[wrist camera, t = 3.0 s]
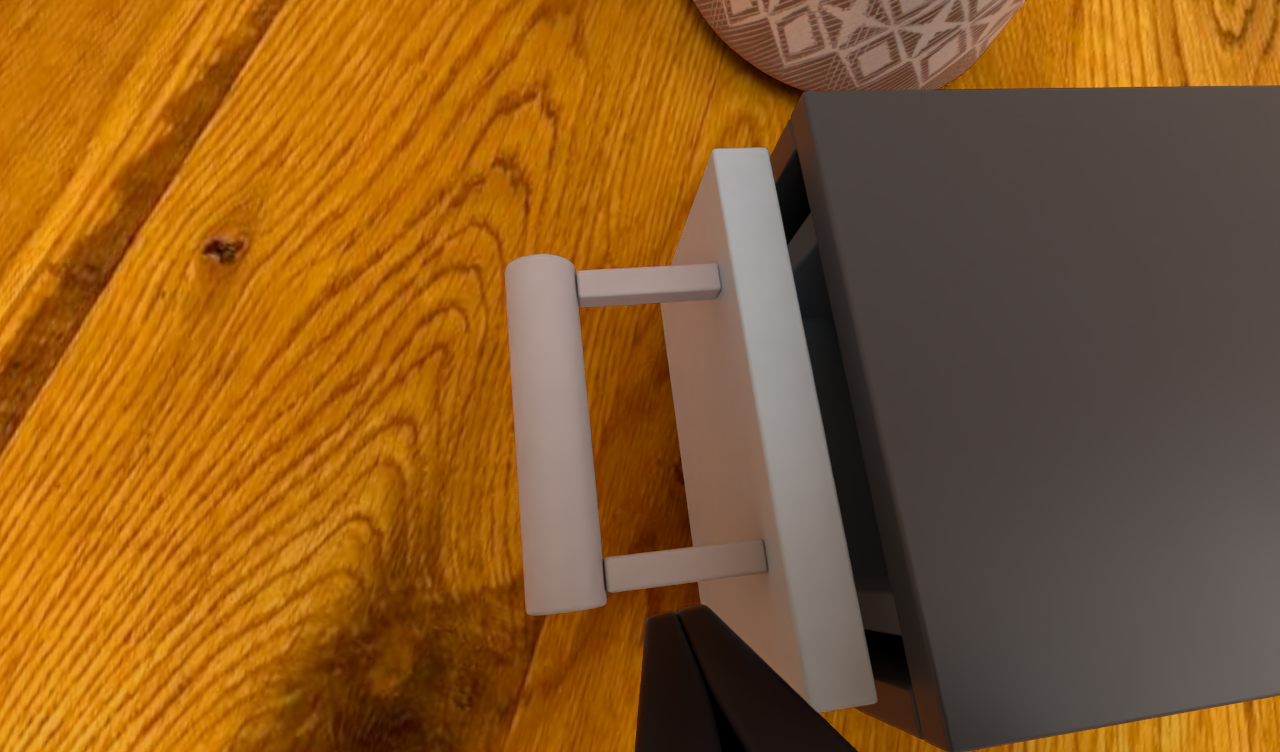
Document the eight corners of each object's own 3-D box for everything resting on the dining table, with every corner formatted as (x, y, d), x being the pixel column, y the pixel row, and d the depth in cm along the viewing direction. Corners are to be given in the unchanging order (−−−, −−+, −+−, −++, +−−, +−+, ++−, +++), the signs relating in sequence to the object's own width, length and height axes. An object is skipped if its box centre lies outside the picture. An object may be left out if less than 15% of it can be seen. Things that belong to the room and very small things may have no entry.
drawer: (542, 680, 16) (530, 761, 9) (517, 303, 19) (493, 152, 12) (1121, 596, 19) (1448, 610, 12) (1021, 273, 22) (1238, 133, 15)
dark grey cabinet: (762, 667, 18) (951, 756, 9) (702, 286, 21) (802, 89, 12) (1182, 604, 20) (1660, 629, 11) (1069, 265, 23) (1373, 82, 14)
